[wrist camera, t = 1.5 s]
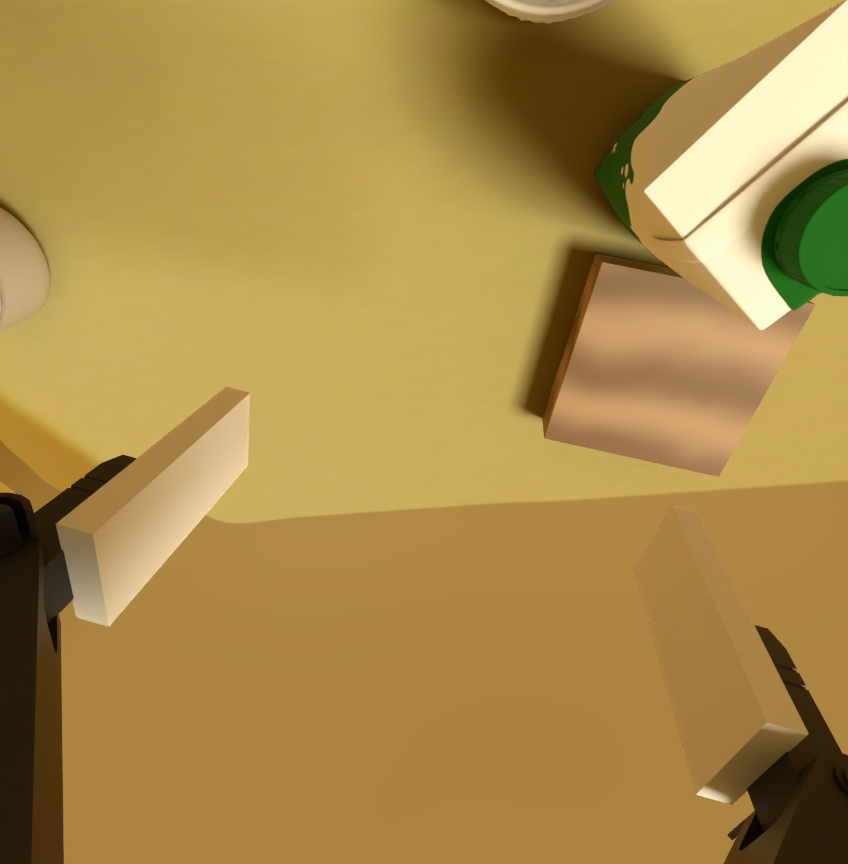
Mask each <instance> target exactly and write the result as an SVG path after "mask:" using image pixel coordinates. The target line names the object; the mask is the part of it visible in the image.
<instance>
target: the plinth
mask: <svg viewBox="0 0 848 864" xmlns="http://www.w3.org/2000/svg"><path fill="white" fill-rule="evenodd" d="M814 306H815V304H814V303H812V302H810V301H808V302H807V303H806V304H804V305H803V306H801V307H800V308H798V309H797V310H795V311H793V310H792V309H791V310H790V311H788V312H787V313H786V314H784V315H783V316H782V317H780V318H779V319H778V320H777V321H775V322H774V323H773V324H771V325H770V326H768V327H767V328H765V329H764V330H759V329H757V328H755V327H754V326H753V325H751V324H750V323H748V322H747V321H745V320H744V319H743V318H741V317H740V316H738V315H737V314H735V313H734V312H733V311H731V310H730V309H728V308H727V307H726V306H724V305H723V304H721V303H720V302H718V301H717V300H715V299H714V298H712V297H711V296H710V295H708V294H707V293H705V292H704V291H702V290H701V289H699V288H697V287H696V286H695V285H693V284H692V283H690V282H689V281H688V280H686V279H685V278H683V277H682V276H680V275H679V274H678V273H676V272H675V271H674V270H673V269H671V268H669V267H664V266H659V265H654V264H649V263H644V262H639V261H634V260H629V259H624V258H619V257H614V256H609V255H604V254H599V253H595V256H594V259H593V262H592V265H591V268H590V271H589V274H588V278H587V281H586V284H585V287H584V290H583V293H582V296H581V299H580V303H579V306H578V309H577V312H576V315H575V318H574V321H573V324H572V327H571V331H570V334H569V337H568V340H567V343H566V346H565V349H564V352H563V355H562V359H561V362H560V365H559V368H558V371H557V374H556V377H555V380H554V384H553V387H552V390H551V393H550V396H549V399H548V402H547V405H546V408H545V412H544V415H543V418H542V419H543V430H544V438H545V439H550V440H554V441H559V442H563V443H568V444H573V445H577V446H582V447H586V448H591V449H595V450H600V451H604V452H609V453H613V454H618V455H622V456H627V457H632V458H636V459H641V460H645V461H650V462H654V463H659V464H663V465H668V466H672V467H677V468H681V469H686V470H690V471H695V472H700V473H704V474H709V475H713V476H718V477H719V475H720V473H721V472H722V470H723V468H724V466H725V465H726V463H727V461H728V459H729V457H730V456H731V454H732V452H733V450H734V448H735V447H736V445H737V443H738V441H739V440H740V438H741V436H742V434H743V432H744V431H745V429H746V427H747V425H748V424H749V422H750V420H751V418H752V416H753V415H754V413H755V411H756V409H757V408H758V406H759V404H760V402H761V400H762V399H763V397H764V395H765V393H766V392H767V390H768V388H769V386H770V384H771V383H772V381H773V379H774V377H775V376H776V374H777V372H778V370H779V368H780V367H781V365H782V363H783V361H784V360H785V358H786V356H787V354H788V352H789V351H790V349H791V347H792V345H793V344H794V342H795V340H796V338H797V336H798V335H799V333H800V331H801V329H802V328H803V326H804V324H805V322H806V320H807V319H808V317H809V315H810V313H811V312H812V310H813V308H814Z"/></svg>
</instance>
